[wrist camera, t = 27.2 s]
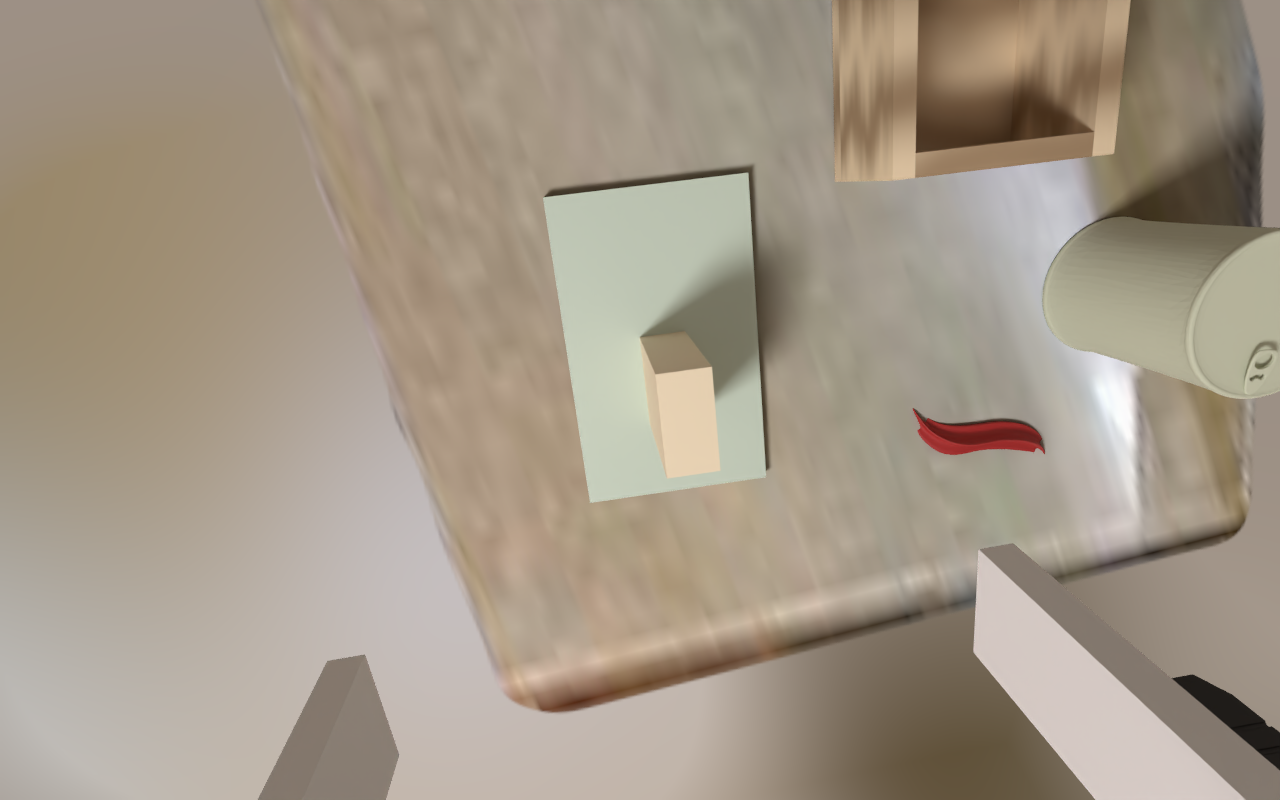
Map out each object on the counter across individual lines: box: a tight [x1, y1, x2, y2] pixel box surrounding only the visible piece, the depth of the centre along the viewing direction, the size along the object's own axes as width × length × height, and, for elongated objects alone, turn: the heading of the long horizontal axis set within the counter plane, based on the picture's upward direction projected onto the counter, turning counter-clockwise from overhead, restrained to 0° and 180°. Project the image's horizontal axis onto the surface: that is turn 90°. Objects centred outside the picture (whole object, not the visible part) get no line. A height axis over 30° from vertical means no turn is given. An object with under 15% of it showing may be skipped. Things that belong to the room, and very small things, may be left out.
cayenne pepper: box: [913, 409, 1045, 455], centre depth 48 cm, size 12×5×2 cm, turn 63°
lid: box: [543, 173, 766, 503], centre depth 39 cm, size 21×13×10 cm, turn 7°
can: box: [1042, 217, 1280, 399], centre depth 40 cm, size 9×9×12 cm
